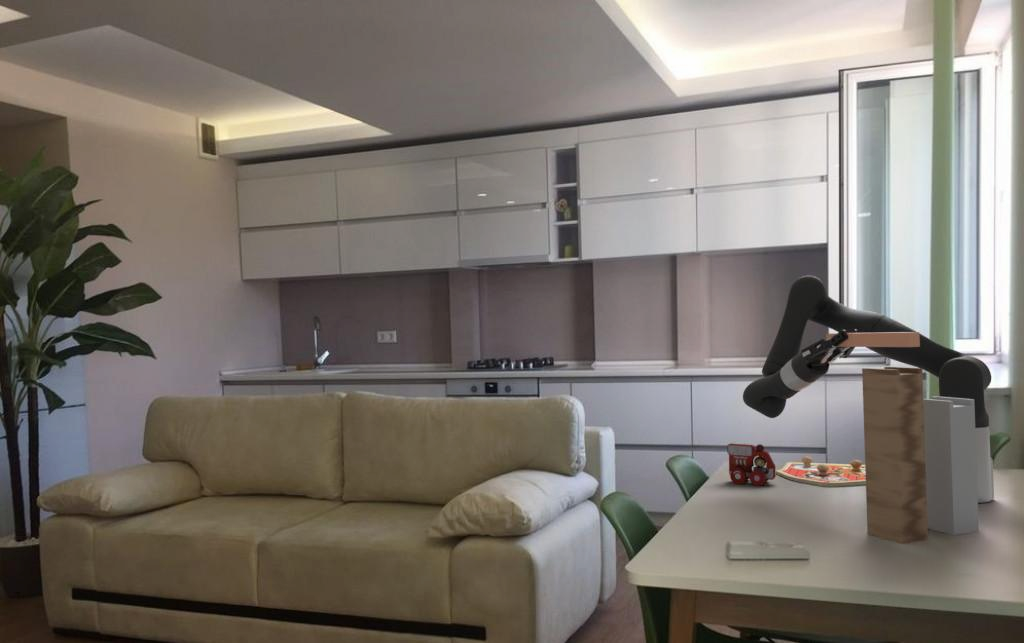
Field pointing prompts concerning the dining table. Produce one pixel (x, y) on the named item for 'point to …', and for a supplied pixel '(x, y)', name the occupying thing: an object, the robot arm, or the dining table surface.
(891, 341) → the stick
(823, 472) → the knob puzzle
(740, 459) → the toy fire truck
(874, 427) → the tower
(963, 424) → the cradle
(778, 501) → the dining table surface
